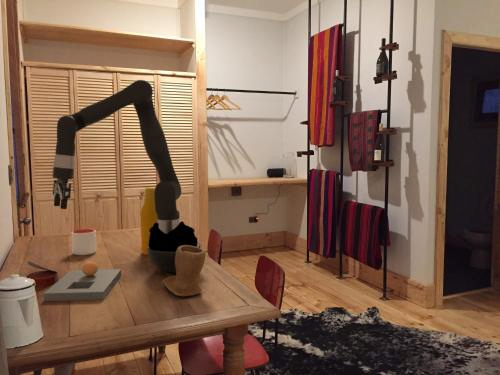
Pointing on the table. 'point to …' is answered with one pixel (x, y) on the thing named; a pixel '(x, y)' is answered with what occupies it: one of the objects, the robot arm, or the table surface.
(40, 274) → the canned food
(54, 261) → the table surface
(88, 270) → the ball
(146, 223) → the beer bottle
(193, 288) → the tan suede boot
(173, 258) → the bowl of black rocks
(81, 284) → the grey flat block
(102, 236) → the table surface
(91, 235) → the cup
